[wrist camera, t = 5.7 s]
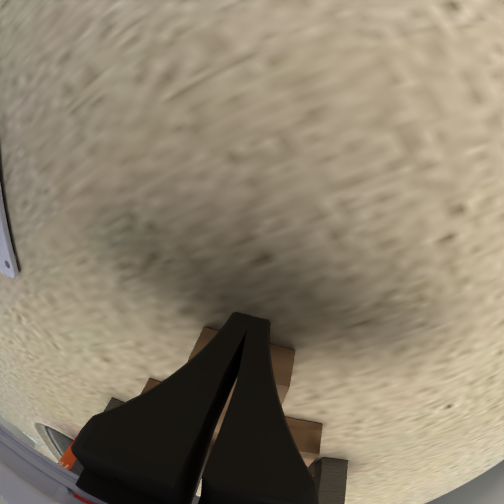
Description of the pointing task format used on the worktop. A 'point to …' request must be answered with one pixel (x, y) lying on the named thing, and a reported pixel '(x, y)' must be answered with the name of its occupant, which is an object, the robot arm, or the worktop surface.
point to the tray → (282, 363)
